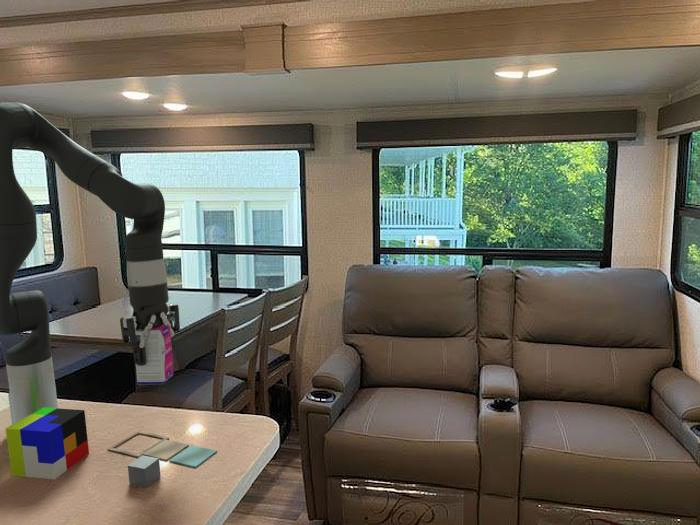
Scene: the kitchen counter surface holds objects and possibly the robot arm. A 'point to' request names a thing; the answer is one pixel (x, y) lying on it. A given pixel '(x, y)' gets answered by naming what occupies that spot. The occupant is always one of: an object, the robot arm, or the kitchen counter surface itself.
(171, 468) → the kitchen counter surface
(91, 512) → the kitchen counter surface
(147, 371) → the supplement box
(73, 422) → the puzzle toy
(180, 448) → the track
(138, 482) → the cube
